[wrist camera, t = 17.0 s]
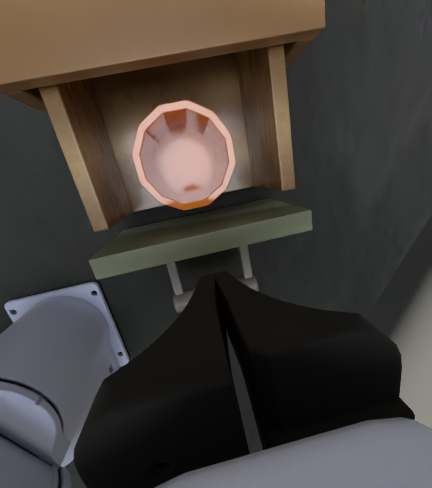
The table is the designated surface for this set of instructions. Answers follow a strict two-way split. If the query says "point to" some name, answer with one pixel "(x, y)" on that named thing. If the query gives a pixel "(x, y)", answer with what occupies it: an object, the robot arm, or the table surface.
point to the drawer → (125, 176)
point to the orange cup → (183, 155)
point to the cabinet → (138, 36)
